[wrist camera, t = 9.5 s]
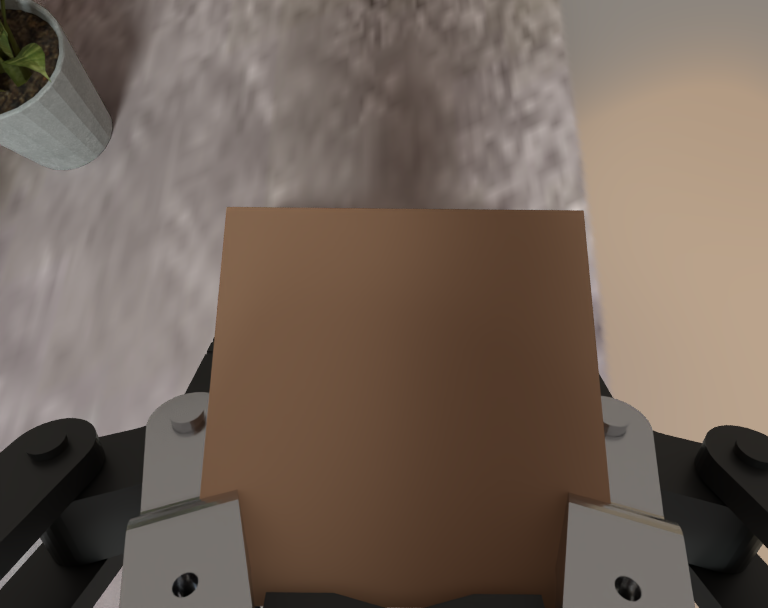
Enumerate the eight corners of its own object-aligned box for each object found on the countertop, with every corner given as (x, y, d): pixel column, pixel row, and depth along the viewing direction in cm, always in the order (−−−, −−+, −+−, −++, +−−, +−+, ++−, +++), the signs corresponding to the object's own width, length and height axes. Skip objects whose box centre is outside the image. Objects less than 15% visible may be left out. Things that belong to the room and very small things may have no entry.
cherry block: (308, 493, 15) (189, 605, 6) (316, 331, 16) (226, 206, 7) (473, 495, 15) (620, 610, 6) (468, 333, 16) (583, 210, 7)
